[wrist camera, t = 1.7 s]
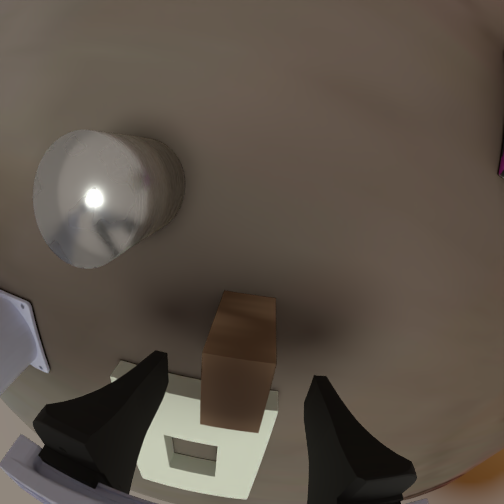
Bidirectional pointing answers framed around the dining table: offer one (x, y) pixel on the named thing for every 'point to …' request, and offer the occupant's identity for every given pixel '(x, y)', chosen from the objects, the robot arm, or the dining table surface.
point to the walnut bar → (238, 362)
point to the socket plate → (189, 428)
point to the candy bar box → (502, 164)
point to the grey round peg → (104, 194)
